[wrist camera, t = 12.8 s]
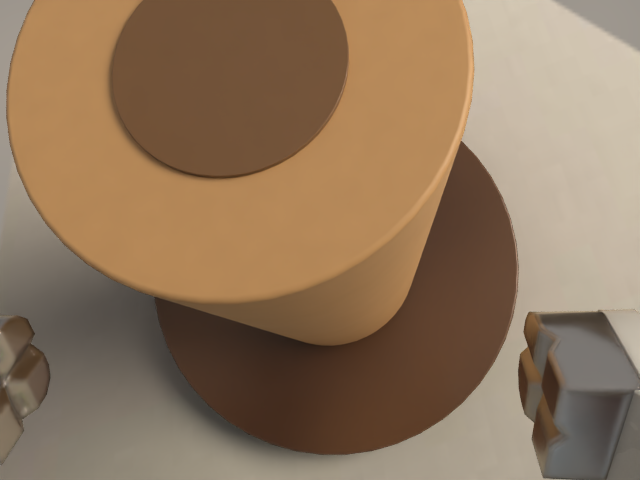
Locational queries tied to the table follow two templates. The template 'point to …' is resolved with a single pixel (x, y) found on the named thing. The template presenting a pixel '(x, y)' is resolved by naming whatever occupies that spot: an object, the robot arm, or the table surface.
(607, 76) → the table surface
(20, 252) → the table surface
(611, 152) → the table surface
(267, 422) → the disc
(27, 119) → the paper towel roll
